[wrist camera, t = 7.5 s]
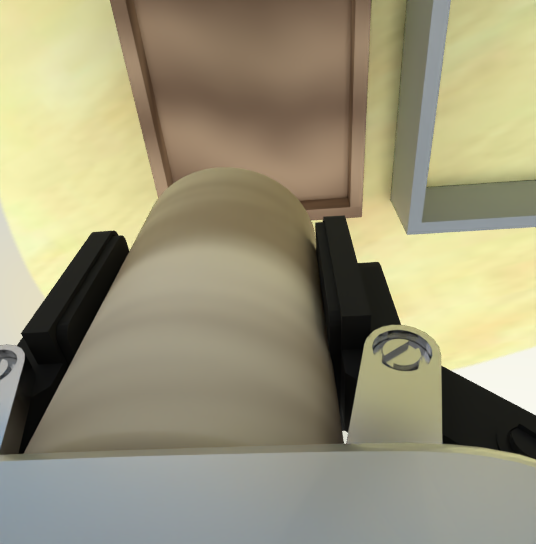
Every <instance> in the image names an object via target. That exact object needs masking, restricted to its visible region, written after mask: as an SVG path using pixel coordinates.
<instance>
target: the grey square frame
mask: <svg viewBox="0 0 536 544" xmlns="http://www.w3.org/2000/svg"><path fill="white" fill-rule="evenodd" d="M450 2H451V0H407V7H406V19H405V31H404V43H403V55H402V67H401V79H400V91H399V103H398V115H397V127H396V139H395V151H394V163H393V175H392V187H391V199H390V200H391V202H392V204H393V206H394V209H395V211H396V213H397V215H398V217H399V219H400V221H401V223H402V225H403V227H404V229H405V231H406V234H407V235H410V234H427V233H443V232H460V231H476V230H493V229H510V228H526V227H536V180H529V181H514V182H500V183H485V184H470V185H455V186H440V187H426V185H427V177H428V170H429V162H430V154H431V147H432V139H433V132H434V124H435V116H436V109H437V101H438V94H439V86H440V78H441V71H442V63H443V55H444V48H445V40H446V33H447V25H448V17H449V10H450Z"/></svg>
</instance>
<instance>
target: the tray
mask: <svg viewBox="0 0 536 544" xmlns="http://www.w3.org/2000/svg"><path fill="white" fill-rule="evenodd" d="M110 3H111V7H112V11H113V15H114V19H115V23H116V27H117V31H118V35H119V39H120V43H121V48H122V52H123V56H124V60H125V64H126V68H127V72H128V76H129V80H130V84H131V88H132V92H133V97H134V101H135V105H136V109H137V113H138V117H139V121H140V125H141V129H142V133H143V137H144V141H145V146H146V150H147V154H148V158H149V162H150V166H151V170H152V174H153V178H154V182H155V186H156V190H157V195H158V198H159V197H160V196H161V195H162V193H163V192H164V191H165V190H166V189H167V188H169V187H170V186H171V185H172V184H173V183H175V182H176V181H178V180H180V179H181V178H183V177H185V176H187V175H190V174H192V173H194V172H198V171H201V170H205V169H211V168H218V167H232V168H241V169H246V170H250V171H255V172H257V173H260V174H263V175H265V176H268V177H270V178H271V179H273V180H275V181H277V182H279V183H280V184H281V185H283V186H284V187H286V188H287V189H288V190H289V191H290V192H291V193H292V194H294V195H295V196H296V198H297V199H298V200H299V201H300V202H301V204H302V205H303V206H304V208H305V210H306V211H307V213H308V215H309V217H310V220H323V217H326V216H341V215H345V218H355V217H362V201H363V178H364V155H365V132H366V109H367V86H368V64H369V41H370V18H371V0H110Z"/></svg>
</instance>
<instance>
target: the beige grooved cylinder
mask: <svg viewBox="0 0 536 544" xmlns="http://www.w3.org/2000/svg"><path fill="white" fill-rule="evenodd" d="M308 444H344V441H343V435H342V427H341V420H340V412H339V405H338V398H337V391H336V383H335V376H334V369H333V364H332V360H331V357H330V351H329V344H328V336H327V329H326V321H325V314H324V306H323V299H322V291H321V284H320V276H319V269H318V261H317V254H316V239H315V232H314V228H313V225H312V222H311V220H310V217H309V215H308V213H307V211H306V210H305V208H304V206H303V205H302V204H301V202H300V201H299V200H298V199H297V198H296V196H295V195H294V194H292V193H291V192H290V191H289V190H288V189H287V188H286V187H284V186H283V185H281V184H280V183H279V182H277V181H275V180H273V179H271V178H270V177H268V176H265V175H263V174H260V173H257V172H255V171H250V170H246V169H241V168H232V167H218V168H211V169H205V170H201V171H198V172H194V173H192V174H190V175H187V176H185V177H183V178H181V179H180V180H178V181H176V182H175V183H173V184H172V185H171V186H170V187H169V188H167V189H166V190H165V191H164V192H163V193H162V195H161V196H160V197H159V198H158V200H157V201H156V203H155V204H154V206H153V207H152V209H151V211H150V213H149V215H148V217H147V219H146V221H145V223H144V225H143V227H142V228H141V230H140V232H139V234H138V236H137V238H136V240H135V242H134V244H133V246H132V248H131V249H130V251H129V253H128V255H127V257H126V259H125V261H124V263H123V265H122V267H121V269H120V270H119V272H118V274H117V276H116V278H115V280H114V282H113V284H112V286H111V288H110V290H109V291H108V293H107V295H106V297H105V299H104V301H103V303H102V305H101V307H100V309H99V311H98V312H97V314H96V316H95V318H94V320H93V322H92V324H91V326H90V328H89V330H88V332H87V333H86V335H85V337H84V339H83V341H82V343H81V345H80V347H79V349H78V351H77V353H76V354H75V356H74V358H73V360H72V362H71V364H70V366H69V368H68V370H67V372H66V374H65V375H64V377H63V379H62V381H61V383H60V385H59V387H58V389H57V391H56V393H55V395H54V396H53V398H52V400H51V402H50V404H49V406H48V408H47V410H46V412H45V414H44V416H43V417H42V419H41V421H40V423H39V425H38V427H37V429H36V431H35V433H34V435H33V437H32V438H31V440H30V442H29V444H28V446H27V448H26V450H25V452H24V454H33V453H58V452H86V451H114V450H143V449H173V448H204V447H238V446H273V445H308Z"/></svg>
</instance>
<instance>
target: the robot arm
mask: <svg viewBox="0 0 536 544" xmlns="http://www.w3.org/2000/svg"><path fill="white" fill-rule="evenodd" d="M315 229H316V254H317V261H318V269H319V276H320V284H321V291H322V299H323V306H324V314H325V321H326V329H327V336H328V344H329V351H330V357H331V360H332V364H333V369H334V376H335V383H336V391H337V398H338V405H339V412H340V420H341V427H342V431H346V432H348V437H347V443H346V444H308V445H273V446H238V447H204V448H173V449H143V450H114V451H86V452H58V453H33V454H24V452H25V450H26V448H27V446H28V444H29V442H30V440H31V438H32V437H33V435H34V433H35V431H36V429H37V427H38V425H39V423H40V421H41V419H42V417H43V416H44V414H45V412H46V410H47V408H48V406H49V404H50V402H51V400H52V398H53V396H54V395H55V393H56V391H57V389H58V387H59V385H60V383H61V381H62V379H63V377H64V375H65V374H66V372H67V370H68V368H69V366H70V364H71V362H72V360H73V358H74V356H75V354H76V353H77V351H78V349H79V347H80V345H81V343H82V341H83V339H84V337H85V335H86V333H87V332H88V330H89V328H90V326H91V324H92V322H93V320H94V318H95V316H96V314H97V312H98V311H99V309H100V307H101V305H102V303H103V301H104V299H105V297H106V295H107V293H108V291H109V290H110V288H111V286H112V284H113V282H114V280H115V278H116V276H117V274H118V272H119V270H120V269H121V267H122V265H123V263H124V261H125V259H126V257H127V255H128V253H129V249H128V245H127V242H126V240H125V238H124V236H119V235H118V234H117V232H116V231H103V232H93V233H91V235H90V236H89V237H88V239H87V240H86V242H85V243H84V245H83V246H82V247H81V249H80V250H79V252H78V253H77V254H76V256H75V257H74V259H73V260H72V262H71V263H70V264H69V266H68V267H67V269H66V270H65V272H64V273H63V274H62V276H61V277H60V279H59V280H58V281H57V283H56V284H55V286H54V287H53V289H52V290H51V291H50V293H49V294H48V296H47V297H46V299H45V300H44V301H43V303H42V304H41V306H40V307H39V309H38V310H37V311H36V313H35V314H34V316H33V317H32V319H31V320H30V321H29V323H28V324H27V326H26V327H25V328H24V330H23V331H22V333H21V334H22V336H23V338H22V339H21V340H20V342H19V343H18V345H17V346H16V345H7V344H6V345H0V544H536V415H534V414H532V413H530V412H528V411H526V410H524V409H522V408H520V407H519V406H517V405H515V404H513V403H511V402H509V401H507V400H505V399H503V398H501V397H500V396H498V395H496V394H494V393H492V392H490V391H488V390H486V389H484V388H483V387H481V386H479V385H477V384H475V383H473V382H471V381H469V380H467V379H466V378H464V377H462V376H460V375H458V374H456V373H454V372H452V371H450V370H448V369H447V368H445V367H443V366H441V353H440V349H439V346H438V345H437V343H436V342H435V340H434V339H433V338H432V337H430V336H429V335H428V334H427V333H425V332H423V331H421V330H419V329H417V328H414V327H410V326H405V325H401V323H400V320H399V317H398V315H397V312H396V309H395V306H394V303H393V300H392V297H391V294H390V291H389V288H388V285H387V283H386V280H385V277H384V274H383V271H382V268H381V265H380V263H379V262H370V263H357V259H356V255H355V252H354V248H353V244H352V240H351V237H350V233H349V229H348V225H347V222H346V218H345V215H341V216H326V217H323V222H318V223H316V224H315Z"/></svg>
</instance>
